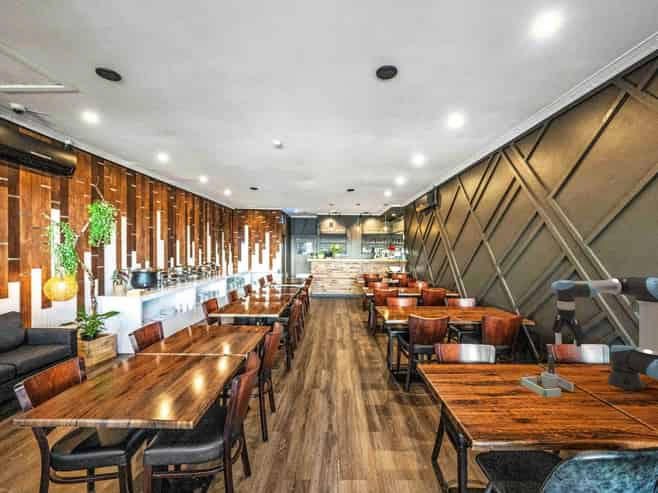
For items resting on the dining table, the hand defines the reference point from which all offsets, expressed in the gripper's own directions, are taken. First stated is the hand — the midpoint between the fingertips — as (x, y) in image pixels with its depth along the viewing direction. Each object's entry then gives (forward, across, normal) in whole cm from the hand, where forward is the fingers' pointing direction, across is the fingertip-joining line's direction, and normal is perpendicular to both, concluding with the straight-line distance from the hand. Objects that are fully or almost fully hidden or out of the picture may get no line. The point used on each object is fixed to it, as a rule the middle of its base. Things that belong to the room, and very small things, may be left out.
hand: (567, 348), depth 161 cm
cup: (+27, -11, -2) cm, 29 cm away
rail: (+27, -23, +1) cm, 35 cm away
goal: (+27, -10, -9) cm, 30 cm away
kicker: (+27, -18, +8) cm, 33 cm away
